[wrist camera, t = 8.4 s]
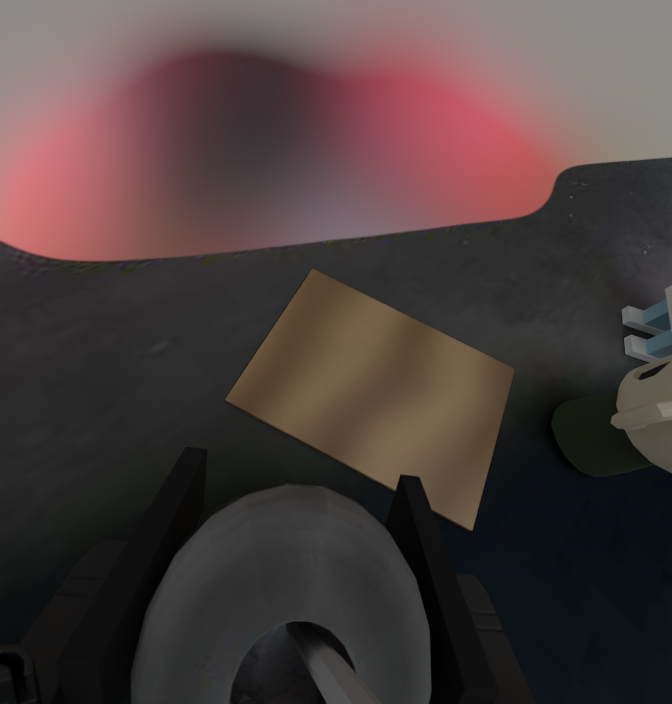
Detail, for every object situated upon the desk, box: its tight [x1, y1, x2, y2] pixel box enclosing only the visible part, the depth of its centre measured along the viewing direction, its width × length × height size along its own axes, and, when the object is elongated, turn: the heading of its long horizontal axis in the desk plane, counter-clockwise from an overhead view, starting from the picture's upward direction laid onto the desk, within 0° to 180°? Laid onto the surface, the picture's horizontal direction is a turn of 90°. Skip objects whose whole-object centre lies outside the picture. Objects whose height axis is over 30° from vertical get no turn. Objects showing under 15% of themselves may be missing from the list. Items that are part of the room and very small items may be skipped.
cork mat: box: [225, 269, 515, 531], centre depth 28 cm, size 20×14×1 cm
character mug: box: [551, 355, 672, 478], centre depth 23 cm, size 11×7×13 cm, turn 97°
